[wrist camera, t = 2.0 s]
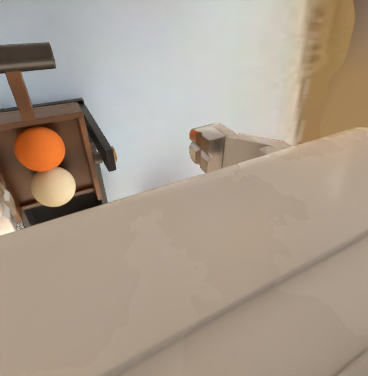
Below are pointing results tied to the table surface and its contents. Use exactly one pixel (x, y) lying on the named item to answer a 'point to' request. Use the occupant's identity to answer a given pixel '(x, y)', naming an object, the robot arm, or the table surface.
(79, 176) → the brown tilting tray
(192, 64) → the table surface
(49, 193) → the cream ball
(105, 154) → the stand
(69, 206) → the basket
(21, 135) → the orange ball
